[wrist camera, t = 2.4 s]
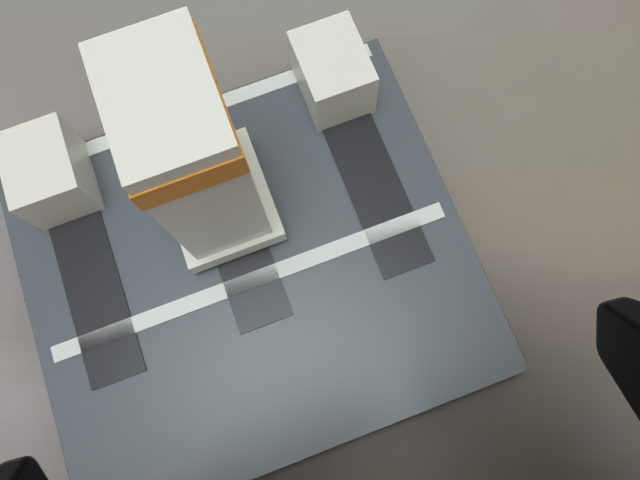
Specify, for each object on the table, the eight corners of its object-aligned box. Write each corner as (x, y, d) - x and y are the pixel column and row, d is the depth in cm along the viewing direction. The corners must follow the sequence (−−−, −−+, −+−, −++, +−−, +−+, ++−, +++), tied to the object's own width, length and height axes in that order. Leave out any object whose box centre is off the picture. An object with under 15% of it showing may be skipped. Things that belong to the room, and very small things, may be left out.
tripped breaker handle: (287, 239, 22) (257, 147, 14) (193, 274, 21) (107, 201, 13) (248, 135, 23) (199, -6, 15) (159, 167, 23) (59, 41, 14)
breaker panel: (517, 371, 22) (555, 365, 18) (103, 535, 21) (50, 566, 17) (372, 53, 26) (378, -9, 22) (12, 180, 25) (-49, 140, 21)
